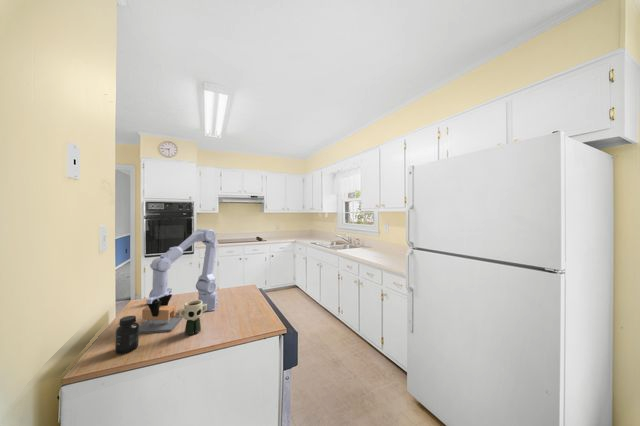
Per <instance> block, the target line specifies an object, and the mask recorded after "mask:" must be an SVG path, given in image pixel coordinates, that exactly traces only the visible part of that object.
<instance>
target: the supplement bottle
mask: <svg viewBox="0 0 640 426" xmlns="http://www.w3.org/2000/svg"><path fill="white" fill-rule="evenodd" d="M118 325H119V326H117V328H116V329H115V340H114V341H115V342H114V343H115V346H114V347H115V348H114V350H115V354H117V355H126V354H129V352H130V353H132V352H134V351H135V350H137V349H138V348H139V344H140V343H139V340H140V339H139V338H140V337H139V336H140V334H139V326H140V323H138V322H137V317H136V315H127V316H123V317H121V318H120V319H119V324H118ZM133 350H134V351H133ZM131 351H132V352H131ZM125 353H126V354H125Z"/></svg>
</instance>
